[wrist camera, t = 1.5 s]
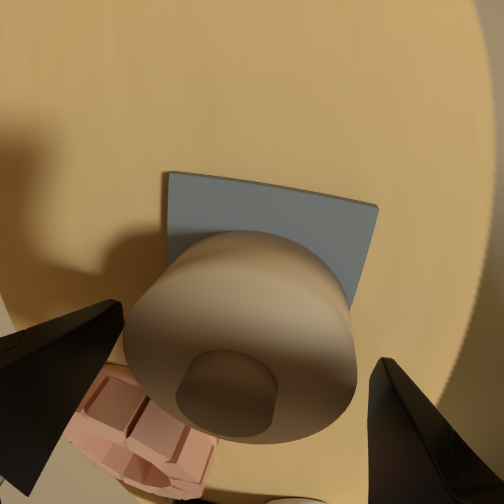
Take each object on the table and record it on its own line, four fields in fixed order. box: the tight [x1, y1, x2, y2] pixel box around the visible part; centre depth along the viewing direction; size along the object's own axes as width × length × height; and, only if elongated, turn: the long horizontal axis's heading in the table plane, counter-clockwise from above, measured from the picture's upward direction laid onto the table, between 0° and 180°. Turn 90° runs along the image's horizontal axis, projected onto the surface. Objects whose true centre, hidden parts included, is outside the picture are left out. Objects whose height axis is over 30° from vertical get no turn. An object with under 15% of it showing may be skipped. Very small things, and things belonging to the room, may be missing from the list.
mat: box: [167, 171, 379, 310], centre depth 10 cm, size 9×6×1 cm, turn 173°
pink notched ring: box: [63, 364, 219, 500], centre depth 13 cm, size 8×8×4 cm
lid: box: [123, 230, 357, 444], centre depth 8 cm, size 6×6×4 cm
